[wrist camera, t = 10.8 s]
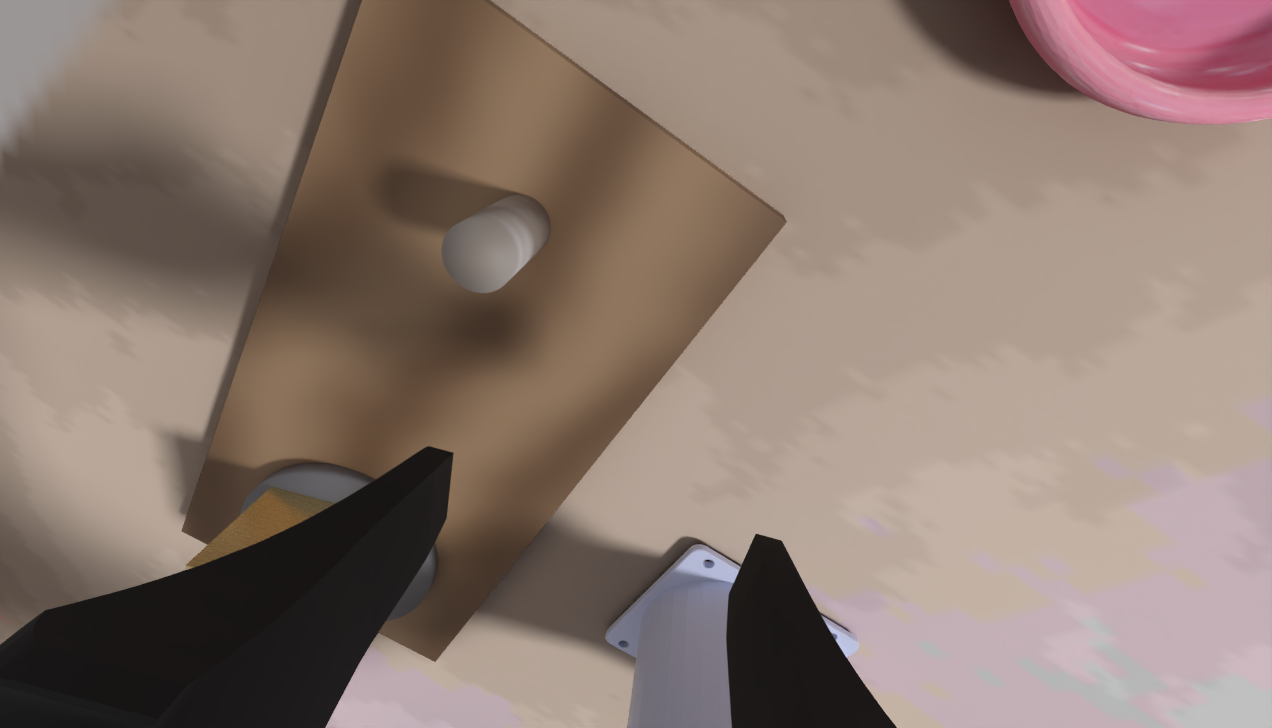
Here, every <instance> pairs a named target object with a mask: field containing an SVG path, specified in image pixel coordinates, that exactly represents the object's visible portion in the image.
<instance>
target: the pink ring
mask: <svg viewBox="0 0 1272 728" xmlns="http://www.w3.org/2000/svg"><path fill="white" fill-rule="evenodd" d="M1009 2H1010V5H1011V7H1012V9H1013V11H1014V14H1015V16H1016V18H1017V20H1018V22H1019V24H1020V26H1021V28H1022V30H1023V32H1024V33H1025V35H1026V36H1027V38H1028V40H1029V41H1030V43H1031V44H1032V46H1033V47H1034V48H1035V50H1036V51H1037V52H1038V54H1039V55H1040V56H1041V57H1042V58H1043V59H1044V61H1045V62H1046V63H1047V64H1048V65H1049V66H1050V67H1051V68H1052V69H1053V70H1054V71H1055V72H1056V73H1057V74H1058V75H1059V76H1061V77H1062V78H1063V79H1064V80H1065V81H1066V82H1067V83H1069V84H1070V85H1071V86H1073V87H1074V88H1076V89H1077V90H1079V91H1080V92H1082V93H1083V94H1085V95H1086V96H1088V97H1090V98H1092V99H1094V100H1096V101H1098V102H1100V103H1102V104H1104V105H1106V106H1109V107H1111V108H1114V109H1117V110H1120V111H1122V112H1125V113H1128V114H1131V115H1135V116H1139V117H1143V118H1149V119H1154V120H1160V121H1168V122H1176V123H1185V124H1211V125H1212V124H1233V123H1242V122H1251V121H1258V120H1264V119H1270V118H1272V0H1009Z"/></svg>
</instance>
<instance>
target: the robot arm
mask: <svg viewBox="0 0 1272 728" xmlns="http://www.w3.org/2000/svg"><path fill="white" fill-rule="evenodd" d="M453 454H454V453H453V452H449V451H446V450H442V449H438V448H434V447H431V446H427V447H425V448H423V449H422V450H420V451H419V452H417V453H415V454H414V455H412V456H411V457H409V458H408V459H406V460H405V461H403V462H402V463H400V464H399V465H397V466H396V467H394V468H393V469H391V470H390V471H388V472H386V473H385V474H383V475H382V476H380V477H379V478H377V479H375V480H374V481H372V482H371V483H369V484H367V485H366V486H364V487H362V488H361V489H359V490H358V491H356V492H354V493H353V494H351V495H349V496H348V497H346V498H344V499H342V500H341V501H339V502H337V503H335V504H333V505H332V506H330V507H328V508H326V509H324V510H323V511H321V512H319V513H317V514H315V515H314V516H312V517H310V518H308V519H306V520H304V521H302V522H300V523H298V524H296V525H294V526H292V527H290V528H288V529H286V530H284V531H282V532H280V533H278V534H275V535H273V536H271V537H269V538H267V539H265V540H262V541H260V542H258V543H256V544H253V545H251V546H248V547H246V548H243V549H241V550H238V551H235V552H233V553H230V554H228V555H225V556H223V557H220V558H218V559H215V560H213V561H210V562H207V563H205V564H202V565H199V566H197V567H194V568H191V569H188V570H185V571H182V572H179V573H176V574H173V575H170V576H167V577H164V578H161V579H158V580H155V581H151V582H148V583H145V584H142V585H139V586H135V587H132V588H128V589H125V590H122V591H118V592H114V593H111V594H107V595H103V596H99V597H95V598H92V599H88V600H84V601H80V602H77V603H73V604H69V605H65V606H61V607H57V608H53V609H49V610H45V611H44V612H43V613H41V614H40V615H38V616H37V617H36V618H34V619H33V620H32V621H30V622H29V623H28V624H26V625H25V626H24V627H22V628H21V629H20V630H18V631H17V632H16V633H14V634H13V635H12V636H11V637H9V638H8V639H7V640H6V641H4V642H3V643H2V644H1V645H0V728H325V727H326V725H327V723H328V721H329V719H330V717H331V715H332V713H333V711H334V710H335V708H336V706H337V704H338V702H339V700H340V698H341V696H342V694H343V693H344V691H345V689H346V687H347V685H348V683H349V681H350V679H351V678H352V676H353V674H354V672H355V670H356V668H357V666H358V664H359V663H360V661H361V659H362V658H363V656H364V654H365V653H366V651H367V649H368V648H369V646H370V644H371V643H372V641H373V640H374V638H375V637H376V635H377V634H378V632H379V631H380V629H381V628H382V626H383V625H384V623H385V622H386V620H387V618H388V617H389V615H390V614H391V612H392V611H393V609H394V608H395V606H396V605H397V603H398V602H399V600H400V599H401V597H402V596H403V594H404V593H405V591H406V590H407V588H408V587H409V585H410V584H411V582H412V580H413V579H414V577H415V576H416V574H417V573H418V571H419V570H420V568H421V567H422V565H423V563H424V562H425V560H426V559H427V557H428V555H429V553H430V551H431V549H432V547H433V545H434V543H435V541H436V539H437V537H438V535H439V533H440V531H441V529H442V527H443V525H444V523H445V521H446V519H447V511H448V501H449V492H450V482H451V473H452V463H453ZM705 560H712V561H710V562H707V561H705ZM605 639H606V641H607V642H608V643H609V644H611V645H613V646H614V647H616V648H618V649H620V650H622V651H624V652H625V653H627V654H629V655H631V656H633V657H634V658H636V664H635V672H634V679H633V687H632V695H631V702H630V710H629V718H628V725H627V728H897V727H896V726H895V725H894V724H893V722H892V721H891V720H890V718H889V717H888V716H887V715H886V713H885V712H884V711H883V709H882V708H881V706H880V705H879V704H878V702H877V701H876V700H875V698H874V697H873V695H872V694H871V693H870V691H869V690H868V689H867V687H866V686H865V685H864V683H863V682H862V680H861V679H860V677H859V676H858V674H857V673H856V671H855V670H854V668H853V667H852V665H851V664H850V662H849V661H848V659H847V657H849V656H850V655H852V654H853V653H854V652H856V651H857V650H858V649H859V643H858V640H857V637H856V636H855V635H853V634H851V633H850V632H848V631H846V630H845V629H843V628H841V627H840V626H838V625H836V624H835V623H833V622H831V621H830V620H828V619H827V618H825V617H823V616H822V615H821V614H820V612H819V611H818V609H817V607H816V605H815V603H814V602H813V600H812V598H811V596H810V594H809V592H808V590H807V589H806V587H805V585H804V583H803V581H802V579H801V577H800V575H799V573H798V571H797V569H796V567H795V565H794V563H793V561H792V560H791V558H790V556H789V554H788V552H787V550H786V548H785V546H784V544H783V542H782V541H781V540H777V539H774V538H770V537H766V536H762V535H759V534H756V535H755V537H754V539H753V541H752V543H751V546H750V548H749V550H748V552H747V555H746V557H745V559H744V561H743V563H742V566H741V567H740V566H738V565H737V564H735V563H733V562H732V561H730V560H728V559H727V558H725V557H723V556H722V555H720V554H719V553H717V552H715V551H714V550H712V549H710V548H709V547H707V546H705V545H702V544H696V545H693V546H691V547H690V548H689V549H688V550H687V551H686V552H685V553H684V554H683V555H682V556H681V557H680V558H679V559H678V560H677V561H676V562H675V563H674V564H673V565H672V566H671V567H670V568H669V569H668V570H667V571H666V572H665V573H664V574H663V575H662V576H661V577H660V578H659V579H658V580H657V581H656V582H655V583H654V584H653V585H652V586H651V587H650V588H649V589H647V590H646V591H645V592H644V593H643V594H642V595H641V596H640V597H639V598H638V599H637V600H636V601H635V602H634V603H633V604H632V605H631V606H630V607H629V608H628V609H627V610H626V611H625V612H624V613H623V614H622V615H621V616H620V617H619V618H618V619H617V620H616V621H615V622H614V623H613V624H612V625H611V626H610V627H609V628H608V629H607V631H606V635H605Z"/></svg>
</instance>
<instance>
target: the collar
mask: <svg viewBox="0 0 1272 728" xmlns="http://www.w3.org/2000/svg"><path fill="white" fill-rule="evenodd" d="M333 504H335V503H332V502H328V501H324V500H321V499H317V498H313V497H310V496H306V495H302V494H298V493H295V492H291V491H287V490H284V489H280V488H276V487H271V488H269V489H268V490H267V491H266V492H265V493H264V494H263V495H262V496H261V497H260V498H259V499H257V500H256V501H255V502H254V503H253V504H252V505H251V506H250V507H249V508H248V509H247V510H245V511H244V512H243V513H242V514H241V515H240V516H239V517H238V518H237V519H236V520H235V521H233V522H232V523H231V524H230V525H229V526H228V527H227V528H226V529H225V530H224V531H223V532H221V533H220V534H219V535H218V536H217V537H216V538H215V539H214V540H213V541H212V542H210V543H209V544H208V545H207V546H206V547H205V548H204V549H203V550H202V551H201V552H200V553H198V554H197V555H196V556H195V557H194V558H193V559H192V560H191V561H190V562H189V563H188V564H186V570H188V569H191V568H194V567H197V566H199V565H202V564H205V563H207V562H210V561H213V560H215V559H218V558H220V557H223V556H225V555H228V554H230V553H233V552H235V551H238V550H241V549H243V548H246V547H248V546H251V545H253V544H256V543H258V542H260V541H262V540H265V539H267V538H269V537H271V536H273V535H275V534H278V533H280V532H282V531H284V530H286V529H288V528H290V527H292V526H294V525H296V524H298V523H300V522H302V521H304V520H306V519H308V518H310V517H312V516H314V515H315V514H317V513H319V512H321V511H323V510H324V509H326V508H328V507H330V506H332V505H333Z"/></svg>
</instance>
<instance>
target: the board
mask: <svg viewBox="0 0 1272 728" xmlns="http://www.w3.org/2000/svg"><path fill="white" fill-rule="evenodd" d="M786 222H787V221H786V220H785V218H784V216H783V215H782V214H781V213H779V212H778V211H777V210H775V209H774V208H773V207H771V206H770V205H768V204H767V203H766V202H764V201H763V200H762V199H760V198H759V197H758V196H756V195H755V194H753V193H752V192H751V191H749V190H748V189H747V188H745V187H744V186H743V185H741V184H740V183H738V182H737V181H736V180H734V179H733V178H732V177H730V176H729V175H728V174H726V173H725V172H723V171H722V170H721V169H719V168H718V167H717V166H715V165H714V164H713V163H711V162H710V161H708V160H707V159H706V158H704V157H703V156H702V155H700V154H699V153H698V152H696V151H695V150H693V149H692V148H691V147H689V146H688V145H687V144H685V143H684V142H683V141H681V140H680V139H678V138H677V137H676V136H674V135H673V134H672V133H670V132H669V131H668V130H666V129H665V128H663V127H662V126H661V125H659V124H658V123H657V122H655V121H654V120H653V119H651V118H650V117H648V116H647V115H646V114H644V113H643V112H642V111H640V110H639V109H638V108H636V107H635V106H633V105H632V104H631V103H629V102H628V101H627V100H625V99H624V98H623V97H621V96H620V95H618V94H617V93H616V92H614V91H613V90H612V89H610V88H609V87H608V86H606V85H605V84H603V83H602V82H601V81H599V80H598V79H597V78H595V77H594V76H593V75H591V74H590V73H588V72H587V71H586V70H584V69H583V68H582V67H580V66H579V65H578V64H576V63H575V62H573V61H572V60H571V59H569V58H568V57H567V56H565V55H564V54H562V53H561V52H560V51H558V50H557V49H556V48H554V47H553V46H552V45H550V44H549V43H547V42H546V41H545V40H543V39H542V38H541V37H539V36H538V35H537V34H535V33H534V32H532V31H531V30H530V29H528V28H527V27H526V26H524V25H523V24H522V23H520V22H519V21H517V20H516V19H515V18H513V17H512V16H511V15H509V14H508V13H507V12H505V11H504V10H502V9H501V8H500V7H498V6H497V5H496V4H494V3H493V2H492V1H490V0H362V2H361V5H360V8H359V11H358V14H357V17H356V19H355V22H354V25H353V28H352V31H351V34H350V37H349V40H348V43H347V46H346V49H345V52H344V55H343V58H342V61H341V64H340V66H339V69H338V72H337V75H336V78H335V81H334V84H333V87H332V90H331V93H330V96H329V99H328V102H327V105H326V108H325V111H324V114H323V116H322V119H321V122H320V125H319V128H318V131H317V134H316V137H315V140H314V143H313V146H312V149H311V152H310V155H309V158H308V161H307V164H306V166H305V169H304V172H303V175H302V178H301V181H300V184H299V187H298V190H297V193H296V196H295V199H294V202H293V205H292V208H291V211H290V213H289V216H288V219H287V222H286V225H285V228H284V231H283V234H282V237H281V240H280V243H279V246H278V249H277V252H276V255H275V258H274V261H273V263H272V266H271V269H270V272H269V275H268V278H267V281H266V284H265V287H264V290H263V293H262V296H261V299H260V302H259V305H258V308H257V310H256V313H255V316H254V319H253V322H252V325H251V328H250V331H249V334H248V337H247V340H246V343H245V346H244V349H243V352H242V355H241V358H240V360H239V363H238V366H237V369H236V372H235V375H234V378H233V381H232V384H231V387H230V390H229V393H228V396H227V399H226V402H225V405H224V407H223V410H222V413H221V416H220V419H219V422H218V425H217V428H216V431H215V434H214V437H213V440H212V443H211V446H210V449H209V452H208V455H207V457H206V460H205V463H204V466H203V469H202V472H201V475H200V478H199V481H198V484H197V487H196V490H195V493H194V496H193V499H192V502H191V504H190V507H189V510H188V513H187V516H186V519H185V522H184V525H183V528H182V532H184V533H186V534H188V535H190V536H192V537H194V538H196V539H198V540H200V541H202V542H203V543H205V544H207V545H208V544H209V543H210V542H212V541H213V540H214V539H215V538H216V537H217V536H218V535H219V534H220V533H221V532H223V531H224V530H225V529H226V528H227V527H228V526H229V525H230V524H231V523H232V522H233V521H235V520H236V519H237V518H238V517H239V516H240V515H241V514H242V513H243V512H244V511H245V510H247V509H248V508H249V507H250V506H251V505H252V504H253V503H254V502H255V501H256V500H257V499H259V498H260V497H261V496H262V495H263V494H264V493H265V492H266V491H267V490H268V489H269V488H271V487H276V488H280V489H284V490H287V491H291V492H295V493H298V494H302V495H306V496H310V497H313V498H317V499H321V500H324V501H328V502H332V503H337V502H339V501H341V500H342V499H344V498H346V497H348V496H349V495H351V494H353V493H354V492H356V491H358V490H359V489H361V488H362V487H364V486H366V485H367V484H369V483H371V482H372V481H374V480H375V479H377V478H379V477H380V476H382V475H383V474H385V473H386V472H388V471H390V470H391V469H393V468H394V467H396V466H397V465H399V464H400V463H402V462H403V461H405V460H406V459H408V458H409V457H411V456H412V455H414V454H415V453H417V452H419V451H420V450H422V449H423V448H425V447H427V446H431V447H434V448H438V449H442V450H446V451H449V452H453V453H454V454H453V463H452V473H451V482H450V492H449V501H448V511H447V519H446V521H445V523H444V525H443V527H442V529H441V531H440V533H439V535H438V537H437V539H436V541H435V543H434V545H433V547H432V549H431V551H430V553H429V555H428V557H427V559H426V560H425V562H424V563H423V565H422V567H421V568H420V570H419V571H418V573H417V574H416V576H415V577H414V579H413V580H412V582H411V584H410V585H409V587H408V588H407V590H406V591H405V593H404V594H403V596H402V597H401V599H400V600H399V602H398V603H397V605H396V606H395V608H394V609H393V611H392V612H391V614H390V615H389V617H388V618H387V620H386V622H385V623H384V625H383V626H382V628H381V629H380V631H379V632H378V633H380V634H382V635H384V636H386V637H388V638H390V639H392V640H394V641H396V642H398V643H400V644H401V645H403V646H405V647H407V648H409V649H411V650H413V651H415V652H417V653H419V654H421V655H423V656H425V657H427V658H429V659H431V660H433V661H434V662H435V661H436V660H437V659H438V658H439V656H440V655H441V654H442V653H443V651H444V650H445V649H446V648H447V646H448V645H449V644H450V643H451V641H452V640H453V639H454V638H455V636H456V635H457V634H458V633H459V631H460V630H461V629H462V628H463V626H464V625H465V624H466V623H467V621H468V620H469V619H470V618H471V616H472V615H473V614H474V613H475V611H476V610H477V609H478V608H479V606H480V605H481V604H482V603H483V601H484V600H485V599H486V598H487V596H488V595H489V594H490V593H491V591H492V590H493V589H494V588H495V586H496V585H497V584H498V583H499V581H500V580H501V579H502V578H503V576H504V575H505V574H506V573H507V571H508V570H509V569H510V568H511V566H512V565H513V564H514V563H515V561H516V560H517V559H518V558H519V556H520V555H521V554H522V553H523V551H524V550H525V549H526V548H527V546H528V545H529V544H530V543H531V541H532V540H533V539H534V538H535V536H536V535H537V534H538V533H539V531H540V530H541V529H542V528H543V526H544V525H545V524H546V523H547V521H548V520H549V519H550V518H551V516H552V515H553V514H554V513H555V511H556V510H557V509H558V508H559V506H560V505H561V504H562V503H563V501H564V500H565V499H566V498H567V496H568V495H569V494H570V493H571V491H572V490H573V489H574V488H575V486H576V485H577V484H578V482H579V481H580V480H581V479H582V477H583V476H584V475H585V474H586V472H587V471H588V470H589V469H590V467H591V466H592V465H593V464H594V462H595V461H596V460H597V459H598V457H599V456H600V455H601V454H602V452H603V451H604V450H605V449H606V447H607V446H608V445H609V444H610V442H611V441H612V440H613V439H614V437H615V436H616V435H617V434H618V432H619V431H620V430H621V429H622V427H623V426H624V425H625V424H626V422H627V421H628V420H629V419H630V417H631V416H632V415H633V414H634V412H635V411H636V410H637V409H638V407H639V406H640V405H641V404H642V402H643V401H644V400H645V399H646V397H647V396H648V395H649V394H650V392H651V391H652V390H653V389H654V387H655V386H656V385H657V384H658V382H659V381H660V380H661V379H662V377H663V376H664V375H665V374H666V372H667V371H668V370H669V369H670V367H671V366H672V365H673V364H674V362H675V361H676V360H677V359H678V357H679V356H680V355H681V354H682V352H683V351H684V350H685V349H686V347H687V346H688V345H689V344H690V342H691V341H692V340H693V339H694V337H695V336H696V335H697V334H698V332H699V331H700V330H701V329H702V327H703V326H704V325H705V324H706V322H707V321H708V320H709V319H710V317H711V316H712V315H713V314H714V312H715V311H716V310H717V309H718V307H719V306H720V305H721V304H722V302H723V301H724V300H725V299H726V297H727V296H728V295H729V294H730V292H731V291H732V290H733V289H734V287H735V286H736V285H737V284H738V282H739V281H740V280H741V279H742V277H743V276H744V275H745V274H746V272H747V271H748V270H749V269H750V267H751V266H752V265H753V264H754V262H755V261H756V260H757V259H758V257H759V256H760V255H761V254H762V252H763V251H764V250H765V249H766V247H767V246H768V245H769V243H770V242H771V241H772V240H773V238H774V237H775V236H776V235H777V233H778V232H779V231H780V230H781V228H782V227H783V226H784V225H785V223H786Z"/></svg>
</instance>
